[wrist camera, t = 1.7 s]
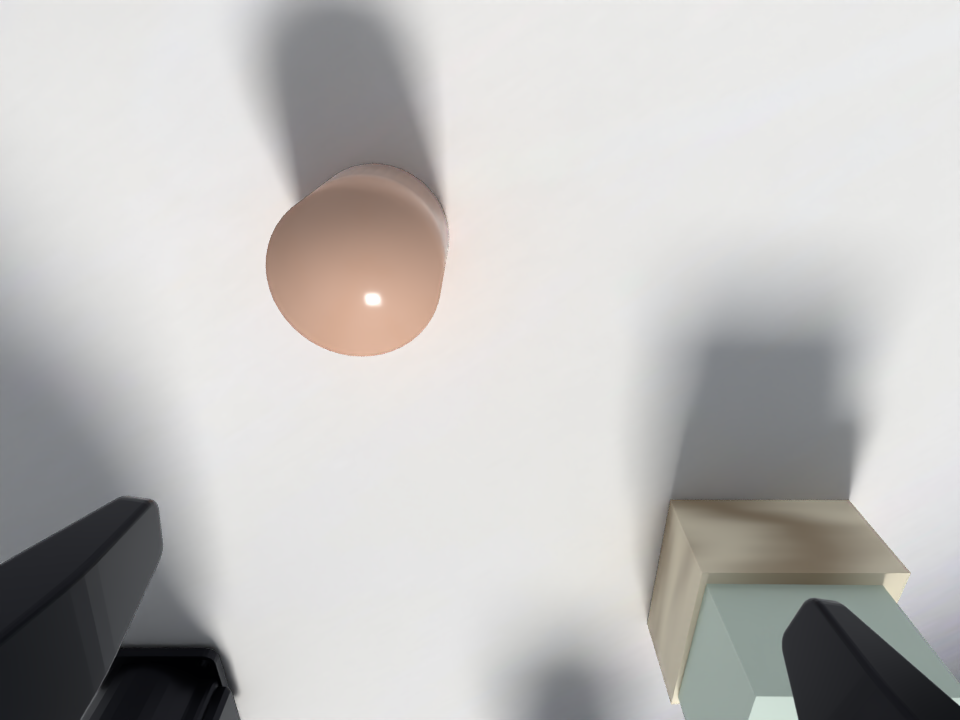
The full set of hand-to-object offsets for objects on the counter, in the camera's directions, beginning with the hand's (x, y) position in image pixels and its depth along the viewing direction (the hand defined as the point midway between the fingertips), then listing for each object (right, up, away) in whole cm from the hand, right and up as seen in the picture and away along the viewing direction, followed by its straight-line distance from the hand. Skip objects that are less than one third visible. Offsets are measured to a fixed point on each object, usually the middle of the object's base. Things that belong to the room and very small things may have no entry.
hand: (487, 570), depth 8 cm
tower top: (+11, -7, +13) cm, 18 cm away
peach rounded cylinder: (-3, +7, +10) cm, 13 cm away
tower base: (+11, -6, +17) cm, 21 cm away
